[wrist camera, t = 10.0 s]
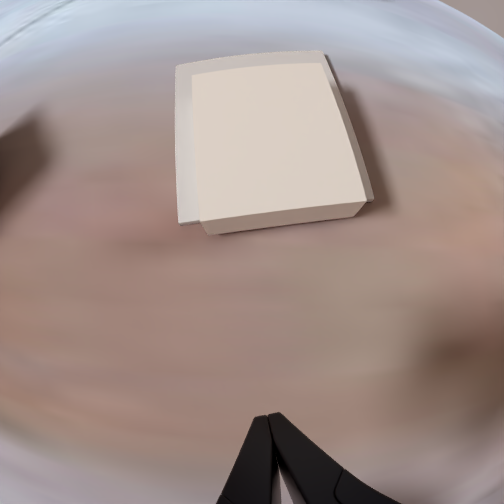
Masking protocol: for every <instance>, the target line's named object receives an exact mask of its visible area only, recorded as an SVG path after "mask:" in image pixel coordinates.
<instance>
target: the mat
mask: <svg viewBox="0 0 504 504" xmlns="http://www.w3.org/2000/svg"><path fill="white" fill-rule="evenodd" d="M296 63H321V64H322V67H323V69H324V72H325V74H326V77H327V79H328V82H329V84H330V87H331V89H332V92H333V95H334V97H335V100H336V103H337V106H338V108H339V111H340V114H341V117H342V120H343V123H344V125H345V128H346V131H347V134H348V138H349V141H350V144H351V147H352V150H353V153H354V157H355V160H356V163H357V167H358V170H359V174H360V177H361V181H362V184H363V188H364V192H365V196H366V199H367V201H366V202H372V201H373V200H374V199H375V198H374V195H373V191H372V187H371V184H370V180H369V177H368V173H367V170H366V167H365V163H364V160H363V157H362V154H361V150H360V147H359V144H358V141H357V138H356V135H355V132H354V129H353V127H352V124H351V121H350V118H349V115H348V113H347V110H346V107H345V105H344V102H343V99H342V97H341V94H340V92H339V89H338V87H337V84H336V82H335V79H334V77H333V74H332V72H331V70H330V67H329V65H328V63H327V60H326V58H325V56H324V54H323V52H322V51H286V52H269V53H257V54H246V55H237V56H229V57H222V58H215V59H209V60H203V61H197V62H191V63H186V64H181V65H176V76H175V157H176V186H177V207H178V223H179V225H180V226H183V225H189V224H196V223H200V219H199V207H198V194H197V180H196V165H195V148H194V128H193V104H192V75H196V74H201V73H207V72H214V71H220V70H228V69H235V68H244V67H253V66H264V65H277V64H296Z"/></svg>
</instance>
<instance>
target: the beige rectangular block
mask: <svg viewBox="0 0 504 504" xmlns="http://www.w3.org/2000/svg"><path fill="white" fill-rule="evenodd" d="M192 104H193V128H194V148H195V165H196V180H197V194H198V207H199V219H200V223H201V225H202V226H203V228H204V229H205V231H206V233H207V234H208V235H215V234H222V233H230V232H237V231H244V230H252V229H259V228H267V227H274V226H282V225H290V224H298V223H306V222H314V221H322V220H330V219H338V218H347V217H354V215H355V214H356V213H357V212H358V211H359V210H360V208H361V207H362V206H363V205H364V204H365V203H366V201H367V199H366V196H365V192H364V188H363V184H362V181H361V177H360V174H359V170H358V167H357V163H356V160H355V157H354V153H353V150H352V147H351V144H350V141H349V138H348V134H347V131H346V128H345V125H344V123H343V120H342V117H341V114H340V111H339V108H338V106H337V103H336V100H335V97H334V95H333V92H332V89H331V87H330V84H329V82H328V79H327V77H326V74H325V72H324V69H323V67H322V64H321V63H296V64H277V65H264V66H253V67H244V68H235V69H228V70H220V71H214V72H207V73H201V74H196V75H192Z"/></svg>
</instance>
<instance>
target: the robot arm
mask: <svg viewBox="0 0 504 504" xmlns="http://www.w3.org/2000/svg"><path fill="white" fill-rule="evenodd" d="M268 421H269V422H268ZM276 457H277V458H276ZM277 461H278V462H277ZM278 466H279V467H278ZM279 469H280V472H281V475H282V477H283V480H284V482H285V484H286V487H287V489H288V492H289V494H290V496H291V499H292V501H293V503H294V504H401V503H399V502H397V501H395V500H393V499H391V498H389V497H387V496H385V495H383V494H382V493H380V492H378V491H376V490H375V489H373V488H371V487H370V486H368V485H366V484H365V483H363V482H362V481H360V480H359V479H358V478H356V477H355V476H354V475H352V474H351V473H350V472H349V471H347V470H346V469H344V468H343V467H342V466H341V465H339V464H338V463H337V462H336V461H335V460H333V459H332V458H331V457H330V456H329V455H327V454H326V453H325V452H324V451H323V450H322V449H320V448H319V447H318V446H317V445H316V444H315V443H313V442H312V441H311V440H310V439H309V438H308V437H307V436H306V435H304V434H303V433H302V432H301V431H300V430H299V429H298V428H297V427H295V426H294V425H293V424H292V423H291V422H290V421H289V420H288V419H287V418H286V417H285V416H284V415H282V414H281V413H280V412H277V413H272V414H269V415H268V417H267V416H266V415H262V416H257V417H255V418H254V419H253V421H252V424H251V426H250V429H249V431H248V434H247V436H246V438H245V441H244V443H243V445H242V448H241V450H240V452H239V455H238V457H237V459H236V462H235V464H234V466H233V468H232V471H231V473H230V475H229V477H228V480H227V482H226V484H225V486H224V488H223V490H222V493H221V494H222V495H220V496H219V498H218V500H217V503H216V504H281V489H280V474H279Z"/></svg>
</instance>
